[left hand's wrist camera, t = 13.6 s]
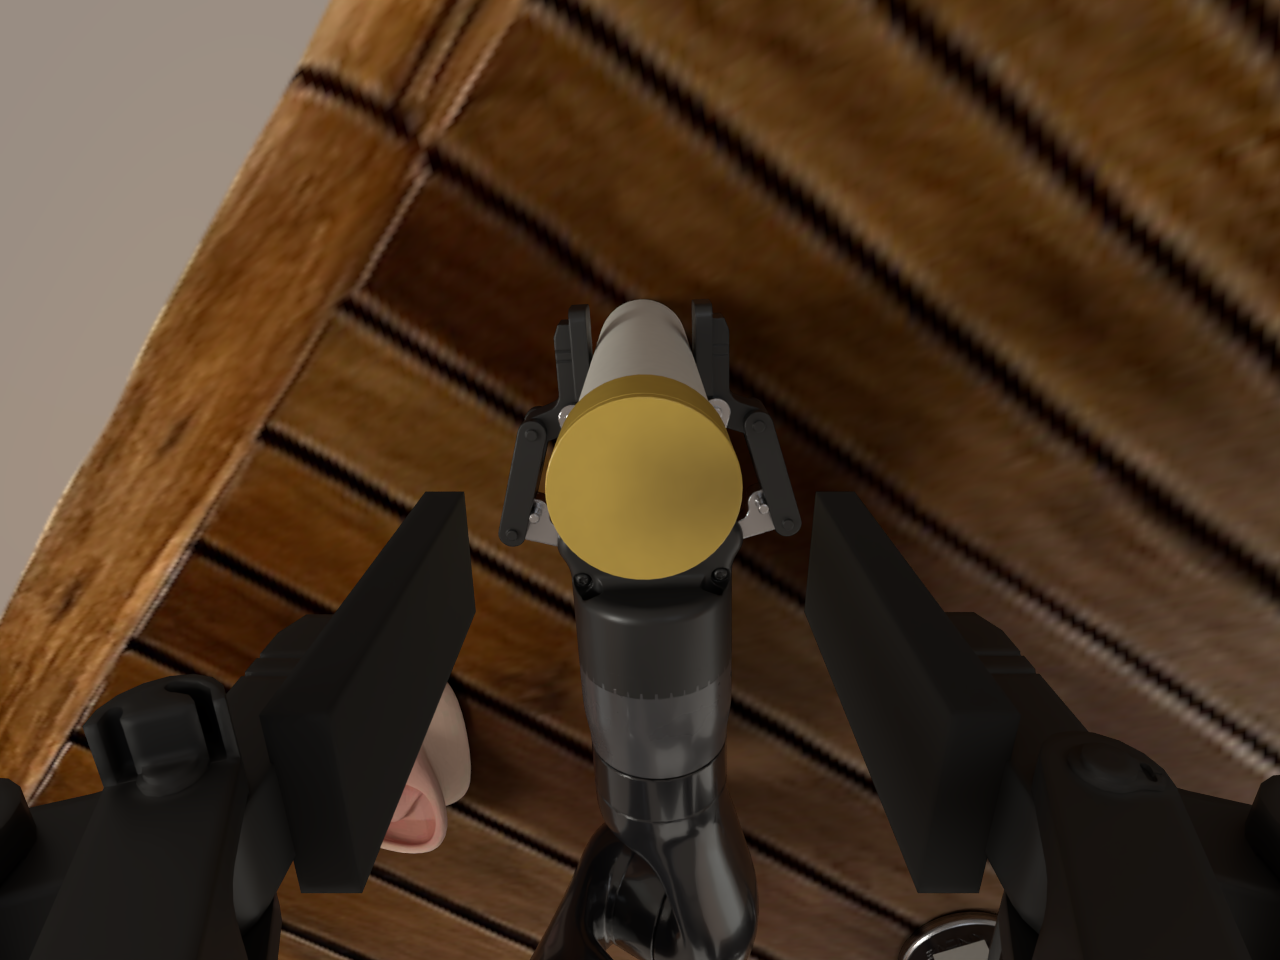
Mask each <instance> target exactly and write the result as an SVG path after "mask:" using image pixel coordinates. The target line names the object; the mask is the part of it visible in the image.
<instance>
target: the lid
mask: <svg viewBox="0 0 1280 960" xmlns="http://www.w3.org/2000/svg"><path fill="white" fill-rule="evenodd" d="M742 490H743V485H742V474H741V470H740V465H739V462H738V459H737V456H736V454H735V451H734V448H733V446H732V443H731V440H730V438H729V435H728V432H727V430H726V427H725V424H724V423H723V421H722V419H721V417H720V415H719V414H718V412H717V411H716V410H715V408H714V407H713V406H712V404H711V403H710V402H709V401H708V400H707V399H706V398H705V397H704V396H702V395H701V394H700V393H698V392H697V391H696V390H694V389H693V388H691V387H689V386H688V385H686V384H684V383H682V382H679V381H677V380H674V379H671V378H667V377H664V376H658V375H648V374H638V375H630V376H624V377H620V378H616V379H613V380H611V381H608V382H606V383H604V384H602V385H600V386H598V387H596V388H595V389H593V390H592V391H590V392H589V393H588V394H586V395H585V396H584V397H583V398H582V399H581V400H580V401H579V402H578V403H577V404H576V405H575V406H574V408H573V409H572V410H571V411H570V413H569V414H568V416H567V418H566V420H565V421H564V423H563V426H562V428H561V431H560V433H559V436H558V439H557V441H556V444H555V447H554V450H553V453H552V455H551V458H550V461H549V464H548V469H547V473H546V481H545V495H546V502H547V508H548V512H549V515H550V518H551V520H552V523H553V525H554V527H555V529H556V531H557V532H558V534H559V535H560V537H561V538H562V540H563V541H564V542H565V544H566V545H567V546H568V547H569V548H570V549H571V550H572V551H573V552H574V553H575V554H576V555H577V556H578V557H580V558H581V559H582V560H584V561H585V562H587V563H588V564H590V565H591V566H593V567H595V568H597V569H599V570H601V571H603V572H606V573H609V574H611V575H615V576H619V577H623V578H629V579H644V580H649V579H659V578H664V577H669V576H673V575H676V574H679V573H682V572H684V571H687V570H689V569H691V568H693V567H695V566H696V565H698V564H699V563H701V562H702V561H704V560H706V559H707V558H708V557H709V556H710V555H711V554H713V553H714V552H715V551H716V550H717V549H718V548H719V547H720V545H721V544H722V543H723V542H724V541H725V539H726V538H727V536H728V535H729V533H730V532H731V530H732V528H733V526H734V524H735V522H736V519H737V517H738V514H739V511H740V506H741V501H742Z"/></svg>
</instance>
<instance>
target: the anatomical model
mask: <svg viewBox="0 0 1280 960" xmlns="http://www.w3.org/2000/svg"><path fill="white" fill-rule="evenodd" d="M470 775H471V763H470V751H469V744H468V738H467V733H466V728H465V723H464V719H463V716H462V712H461V709H460V706H459V703H458V700H457V698H456V696H455V694H454V692H453V690H452V688H451V686H450V685H449V684H448V682H447V684H446V686H445V689H444V691H443V694H442V696H441V699H440V701H439V704H438V706H437V709H436V711H435V714H434V716H433V719H432V721H431V723H430V726H429V728H428V731H427V733H426V736H425V738H424V741H423V743H422V746H421V748H420V751H419V753H418V756H417V758H416V761H415V763H414V766H413V768H412V771H411V773H410V775H409V778H408V780H407V783H406V785H405V788H404V790H403V793H402V795H401V798H400V800H399V803H398V805H397V808H396V810H395V813H394V815H393V818H392V820H391V823H390V825H389V828H388V830H387V832H386V835H385V837H384V840H383V842H382V845H381V847H380V848H383V849H387V850H392V851H397V852H403V853H424V852H428V851H431V850H434V849H435V848H437V847H438V846H439V845H440V844H441V843H442V841H443V839H444V837H445V834H446V830H447V810H446V806H447V805H450V804H452V803H454V802H456V801H458V800H459V799H460V798H462V797H463V796H464V795H465V793H466V792H467V790H468V787H469V784H470Z"/></svg>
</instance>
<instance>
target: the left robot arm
mask: <svg viewBox="0 0 1280 960" xmlns="http://www.w3.org/2000/svg"><path fill="white" fill-rule="evenodd" d="M475 612H476V610H475V600H474V589H473V579H472V569H471V558H470V548H469V538H468V527H467V517H466V507H465V496H464V492H425V493H424V494H423V496H422V497H421V498H420V500H419V501H418V503H417V504H416V505H415V507H414V508H413V509H412V511H411V512H410V513H409V515H408V516H407V517H406V519H405V520H404V521H403V523H402V524H401V525H400V527H399V528H398V529H397V531H396V532H395V533H394V535H393V536H392V537H391V539H390V540H389V541H388V543H387V544H386V545H385V547H384V548H383V549H382V551H381V552H380V553H379V555H378V556H377V557H376V559H375V560H374V561H373V563H372V564H371V565H370V567H369V568H368V570H367V571H366V572H365V574H364V575H363V576H362V578H361V579H360V580H359V582H358V583H357V584H356V586H355V587H354V588H353V590H352V591H351V592H350V594H349V595H348V596H347V598H346V599H345V600H344V602H343V603H342V604H341V606H340V607H339V608H338V610H337V611H336V612H335V614H334V615H305V616H304V617H302V618H300V619H299V620H297V621H296V622H294V623H293V624H291V625H290V626H288V627H286V628H285V629H283V630H282V631H280V632H279V633H278V634H277V635H276V636H275V637H274V638H273V640H272V641H271V642H270V643H269V644H268V645H267V647H266V648H265V649H264V650H263V651H262V653H261V654H260V658H256V660H255V661H254V662H253V663H252V664H251V666H250V667H249V668H248V669H247V670H246V671H245V676H241V677H240V679H239V680H238V681H237V682H236V683H235V685H234V686H233V687H232V688H231V689H230V690H229V692H228V693H227V694H226V693H225V690H224V686H223V685H222V684H221V683H220V682H218V681H217V680H216V679H214V678H213V677H208V676H203V675H197V674H188V675H177V676H169V677H165V678H161V679H158V680H154V681H150V682H147V683H143V684H141V685H139V686H137V687H134V688H132V689H130V690H128V691H126V692H124V693H121V694H119V695H117V696H116V697H114V698H113V699H111V700H110V701H109V702H107V703H106V704H104V705H103V706H101V707H100V708H98V709H97V710H96V711H95V712H94V713H93V714H92V716H91V717H90V718H89V719H88V720H87V722H86V723H85V724H84V725H83V729H84V732H85V735H86V738H87V741H88V743H89V746H90V749H91V752H92V755H93V758H94V760H95V763H96V766H97V769H98V772H99V775H100V778H101V780H102V783H103V786H104V789H103V791H101V792H97V793H94V794H90V795H85V796H81V797H76V798H72V799H67V800H63V801H58V802H54V803H49V804H45V805H40V806H36V807H31V808H29V807H28V805H27V802H26V800H25V797H24V795H23V792H22V790H21V787H20V786H18V785H17V784H15V783H14V782H12V781H11V780H10V779H6V778H0V960H278V952H279V942H280V933H281V923H282V918H281V911H280V905H279V901H278V897H277V893H276V892H277V890H278V888H279V886H280V884H281V882H282V880H283V878H284V877H285V875H286V873H287V871H288V869H289V867H290V865H291V863H292V861H293V860H294V865H295V869H296V873H297V877H298V881H299V886H300V890H301V893H362V892H363V889H364V887H365V885H366V882H367V880H368V877H369V875H370V872H371V870H372V867H373V865H374V862H375V860H376V857H377V855H378V852H379V850H380V847H381V845H382V842H383V840H384V837H385V835H386V832H387V830H388V828H389V825H390V823H391V820H392V818H393V815H394V813H395V810H396V808H397V805H398V803H399V800H400V798H401V795H402V793H403V790H404V788H405V785H406V783H407V780H408V778H409V775H410V773H411V771H412V768H413V766H414V763H415V761H416V758H417V756H418V753H419V751H420V748H421V746H422V743H423V741H424V738H425V736H426V733H427V731H428V728H429V726H430V723H431V721H432V719H433V716H434V714H435V711H436V709H437V706H438V704H439V701H440V699H441V696H442V694H443V691H444V689H445V686H446V684H447V681H448V679H449V676H450V674H451V671H452V669H453V666H454V664H455V662H456V659H457V657H458V654H459V652H460V649H461V647H462V644H463V642H464V639H465V637H466V634H467V632H468V629H469V627H470V624H471V622H472V619H473V617H474V614H475ZM804 612H805V614H806V617H807V619H808V622H809V624H810V627H811V629H812V632H813V634H814V637H815V639H816V642H817V644H818V647H819V649H820V652H821V654H822V657H823V659H824V662H825V664H826V666H827V669H828V671H829V674H830V676H831V679H832V681H833V684H834V686H835V689H836V691H837V694H838V696H839V699H840V701H841V704H842V706H843V709H844V711H845V714H846V716H847V719H848V721H849V723H850V726H851V728H852V731H853V733H854V736H855V738H856V741H857V743H858V746H859V748H860V751H861V753H862V756H863V758H864V761H865V763H866V766H867V768H868V771H869V773H870V776H871V778H872V780H873V783H874V785H875V788H876V790H877V793H878V795H879V798H880V800H881V803H882V805H883V808H884V810H885V813H886V815H887V818H888V820H889V823H890V825H891V828H892V830H893V832H894V835H895V837H896V840H897V842H898V845H899V847H900V850H901V852H902V855H903V857H904V860H905V862H906V865H907V867H908V870H909V872H910V875H911V877H912V880H913V882H914V885H915V887H916V889H917V892H918V893H979V890H980V886H981V881H982V877H983V873H984V869H985V865H986V860H987V858H988V860H989V862H990V863H991V865H992V867H993V869H994V871H995V873H996V875H997V877H998V878H999V880H1000V882H1001V884H1002V886H1003V888H1004V893H1003V897H1002V901H1001V905H1000V909H999V912H998V916H997V920H996V924H995V928H994V932H993V936H992V940H991V944H990V948H989V954H988V960H999V958H1000V954H1001V950H1002V959H1003V960H1280V775H1273V776H1272V777H1270V778H1269V779H1267V780H1266V781H1264V782H1263V783H1261V785H1260V787H1259V790H1258V792H1257V795H1256V797H1255V800H1254V802H1253V805H1249V804H1245V803H1240V802H1236V801H1231V800H1227V799H1222V798H1218V797H1213V796H1209V795H1204V794H1200V793H1195V792H1191V791H1187V790H1183V789H1180V788H1177V787H1176V786H1175V784H1174V783H1173V782H1172V780H1171V779H1170V777H1169V776H1168V775H1167V773H1166V772H1165V770H1164V769H1163V768H1161V767H1160V766H1159V765H1158V764H1156V763H1155V762H1154V761H1153V760H1151V759H1150V758H1149V757H1148V756H1146V755H1145V754H1144V753H1142V752H1140V751H1138V750H1136V749H1134V748H1132V747H1131V746H1129V745H1127V744H1125V743H1123V742H1121V741H1119V740H1116V739H1112V738H1109V737H1106V736H1103V735H1100V734H1096V733H1091V732H1088V731H1087V729H1086V728H1085V727H1084V726H1083V725H1082V724H1081V722H1080V721H1079V720H1078V719H1077V718H1076V717H1075V715H1074V714H1073V713H1072V712H1071V711H1070V709H1069V708H1068V707H1067V706H1066V705H1065V704H1064V702H1063V701H1062V700H1061V699H1060V698H1059V697H1058V695H1057V694H1056V693H1055V692H1054V691H1053V689H1052V688H1051V687H1050V686H1049V685H1048V684H1047V682H1046V681H1045V680H1044V679H1043V678H1042V677H1041V675H1040V674H1036V672H1035V668H1034V667H1033V666H1032V665H1031V664H1030V662H1029V661H1028V660H1027V659H1026V658H1025V657H1024V656H1021V655H1020V651H1019V650H1018V648H1017V647H1016V646H1015V645H1014V644H1013V642H1012V641H1011V640H1010V639H1009V638H1008V637H1007V635H1006V634H1005V633H1004V632H1003V631H1002V630H1001V629H999V628H998V627H996V626H995V625H993V624H991V623H990V622H988V621H987V620H985V619H984V618H982V617H980V616H979V615H977V614H976V613H974V612H944V611H943V610H942V608H941V607H940V606H939V604H938V603H937V602H936V600H935V599H934V598H933V596H932V595H931V594H930V592H929V591H928V590H927V588H926V587H925V586H924V584H923V583H922V582H921V580H920V579H919V578H918V576H917V575H916V574H915V572H914V571H913V570H912V568H911V567H910V565H909V564H908V563H907V561H906V560H905V559H904V557H903V556H902V555H901V553H900V552H899V551H898V549H897V548H896V547H895V545H894V544H893V543H892V541H891V540H890V539H889V537H888V536H887V535H886V533H885V532H884V531H883V529H882V528H881V527H880V525H879V524H878V523H877V521H876V520H875V519H874V517H873V516H872V515H871V513H870V512H869V511H868V509H867V508H866V507H865V505H864V504H863V503H862V501H861V500H860V498H859V497H858V496H857V494H856V493H855V492H816V496H815V507H814V517H813V527H812V538H811V548H810V558H809V569H808V579H807V589H806V600H805V610H804Z"/></svg>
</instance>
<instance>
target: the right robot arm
mask: <svg viewBox="0 0 1280 960" xmlns="http://www.w3.org/2000/svg"><path fill="white" fill-rule="evenodd" d="M568 317H569V320H561V321H560V323H559V324H558V326H557V329H556V332H555V336H554V345H555V356H556V367H557V378H558V389H559V398H558V399H557V400H556V401H554V402H552V403H550V404H548V405H545V406H543V407H542V406H536V407H533V408H531V409H530V410H529V411H528V413H527V415H526V417H525V420H524V422H523V423H522V424H521V425H520V427H519V429H518V433H517V438H516V443H515V449H514V454H513V459H512V464H511V470H510V475H509V480H508V486H507V491H506V496H505V501H504V507H503V512H502V517H501V522H500V528H499V538H500V540H501V541H502V542H503V543H504V544H506V545H508V546H518V545H520V544H522V543H523V542H524V540H525V539H526V540H531V541H536V542H540V543H545V544H549V545H554V546H558V550H559V552H560V554H561V556H562V557H563V559H564V560H565V561H566V563H567V564H568V566H569V568H570V571H571V575H572V584H573V595H574V606H575V617H576V628H577V639H578V650H579V660H580V671H581V682H582V693H583V701H584V708H585V712H586V716H587V720H588V723H589V727H590V731H591V737H592V749H593V760H594V772H595V783H596V792H597V799H598V804H599V808H600V811H601V814H602V816H603V819H604V821H605V823H603V824H602V825H601V826H600V827H599V828H598V829H597V830H596V832H595V833H594V834H593V835H592V837H591V838H590V840H589V842H588V844H587V846H586V848H585V850H584V852H583V854H582V856H581V858H580V861H579V863H578V865H577V868H576V870H575V872H574V875H573V877H572V879H571V882H570V884H569V886H568V888H567V890H566V892H565V895H564V897H563V899H562V901H561V903H560V905H559V907H558V909H557V911H556V913H555V915H554V917H553V918H552V920H551V922H550V924H549V926H548V928H547V930H546V932H545V934H544V935H543V937H542V939H541V941H540V943H539V945H538V947H537V948H536V950H535V952H534V954H533V955H532V957H531V959H530V960H613V959H612V958H611V957H610V956H609V954H608V953H607V952H606V950H607V948H608V947H609V946H610V945H612V944H615V945H616V946H618V947H620V948H621V949H623V950H624V951H626V952H628V953H629V954H631V955H633V956H634V957H636V958H638V959H639V960H747V959H748V957H749V955H750V953H751V950H752V947H753V944H754V941H755V937H756V932H757V925H758V915H759V895H758V887H757V879H756V874H755V870H754V866H753V862H752V859H751V855H750V852H749V849H748V846H747V843H746V840H745V838H744V835H743V832H742V829H741V826H740V823H739V820H738V817H737V814H736V811H735V807H734V805H733V802H732V799H731V797H730V794H729V792H728V789H727V785H726V779H727V734H726V732H727V722H728V717H729V711H730V704H731V688H732V675H731V653H732V564H733V561H734V558H735V556H736V554H737V553H738V551H739V550H740V548H741V546H742V543H743V539H744V538H747V537H751V536H754V535H757V534H761V533H764V532H767V531H770V530H774V529H775V530H776V531H777V533H779V534H780V535H783V536H791V535H794V534H795V533H797V532H798V531H799V529H800V527H801V518H800V515H799V511H798V508H797V504H796V501H795V497H794V494H793V490H792V487H791V483H790V480H789V476H788V473H787V469H786V466H785V462H784V459H783V455H782V452H781V449H780V445H779V442H778V438H777V435H776V431H775V428H774V424H773V421H772V419H771V417H770V415H769V414H768V412H767V410H766V409H765V407H764V405H763V404H762V402H761V401H760V400H758V399H757V398H752V397H751V398H746V397H743V396H739V395H737V394H734V393H733V392H731V391H730V390H729V329H728V326H727V324H726V321H725V319H724V317H723V316H722V314H721V313H712V303H711V302H710V300H709V299H699V300H692V348H693V357H694V360H695V363H696V366H697V369H698V372H699V375H700V378H701V381H702V384H703V387H704V390H705V393H706V396H707V399H708V401H709V402H710V403H711V404H712V406H713V407H714V408H715V410H716V411H717V412H718V414H719V415H720V417H721V419H722V421H723V423H724V424H725V427H726V428H729V429H733V430H736V431H739V432H742V433H744V437H745V440H746V443H747V446H748V450H749V453H750V456H751V459H752V463H753V466H754V469H755V473H756V476H757V479H758V482H759V483H755V484H753V485H751V486H750V487H749V488H748V489H747V491H746V494H745V497H746V504H745V507H744V508H743V509H742V510H741V511H740V512H739V514H738V517H737V519H736V522H735V524H734V526H733V528H732V530H731V532H730V533H729V535H728V536H727V538H726V539H725V541H724V542H723V543H722V544H721V545H720V547H719V548H718V549H717V550H716V551H715V552H714V553H713V554H711V555H710V556H709V557H708V558H707V559H706V560H704V561H702V562H701V563H699V564H698V565H696V566H695V567H693V568H691V569H689V570H687V571H684V572H682V573H679V574H676V575H673V576H669V577H664V578H659V579H649V580H644V579H629V578H623V577H619V576H615V575H611V574H609V573H606V572H603V571H601V570H599V569H597V568H595V567H593V566H591V565H590V564H588V563H587V562H585V561H584V560H582V559H581V558H580V557H578V556H577V555H576V554H575V553H574V552H573V551H572V550H571V549H570V548H569V547H568V546H567V545H566V544H565V542H564V541H563V540H562V538H561V537H560V535H559V534H558V532H557V531H556V529H555V527H554V525H553V523H552V520H551V518H550V515H549V512H548V508H547V502H546V495H545V494H544V493H541V492H538V489H539V485H540V480H541V475H542V470H543V465H544V461H545V456H546V451H547V446H548V441H550V440H552V439H555V438H557V437H558V436H559V433H560V431H561V428H562V426H563V423H564V421H565V420H566V418H567V416H568V414H569V413H570V411H571V410H572V409H573V408H574V406H575V405H576V404H577V403H578V402H579V398H580V395H581V392H582V389H583V386H584V383H585V380H586V377H587V374H588V371H589V368H590V364H591V361H592V358H593V354H592V340H591V326H590V312H589V305H588V304H583V305H572V306H571V307H570V308H569V313H568ZM997 916H998V915H995V914H991V913H985V912H961V913H955V914H951V915H947V916H943V917H940V918H938V919H935V920H933V921H931V922H929V923H927V924H925V925H924V926H922V927H921V928H919V929H918V930H916V931H915V932H914V933H913V934H912V935H911V936H910V937H909V938H908V939H907V940H906V942H905V943H904V945H903V946H902V948H901V951H900V953H899V957H898V960H988V954H989V948H990V944H991V940H992V936H993V932H994V928H995V924H996V920H997ZM999 960H1003V959H1002V950H1001V954H1000V958H999Z"/></svg>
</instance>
